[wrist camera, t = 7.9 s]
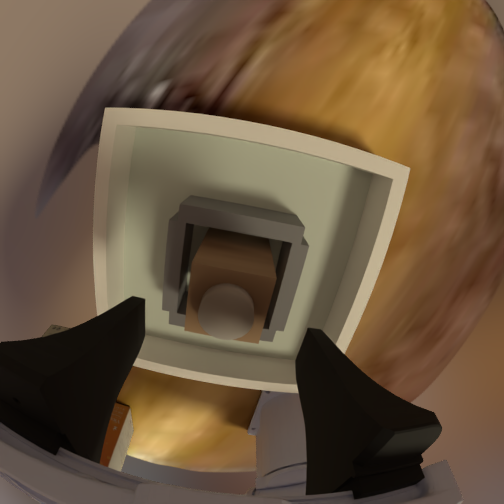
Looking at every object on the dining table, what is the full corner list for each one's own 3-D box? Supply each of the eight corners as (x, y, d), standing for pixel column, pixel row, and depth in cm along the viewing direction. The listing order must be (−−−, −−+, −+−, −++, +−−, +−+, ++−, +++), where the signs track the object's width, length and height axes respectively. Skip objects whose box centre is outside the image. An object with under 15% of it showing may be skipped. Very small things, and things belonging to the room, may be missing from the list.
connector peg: (256, 291, 20) (258, 356, 14) (201, 280, 20) (180, 342, 13) (268, 238, 19) (278, 288, 12) (209, 227, 18) (187, 271, 12)
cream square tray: (314, 362, 24) (323, 394, 20) (120, 328, 23) (102, 356, 19) (382, 163, 18) (410, 168, 14) (131, 113, 16) (105, 107, 13)
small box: (131, 405, 27) (99, 496, 15) (134, 430, 29) (110, 509, 17) (72, 384, 26) (30, 462, 14) (81, 411, 28) (49, 482, 16)
